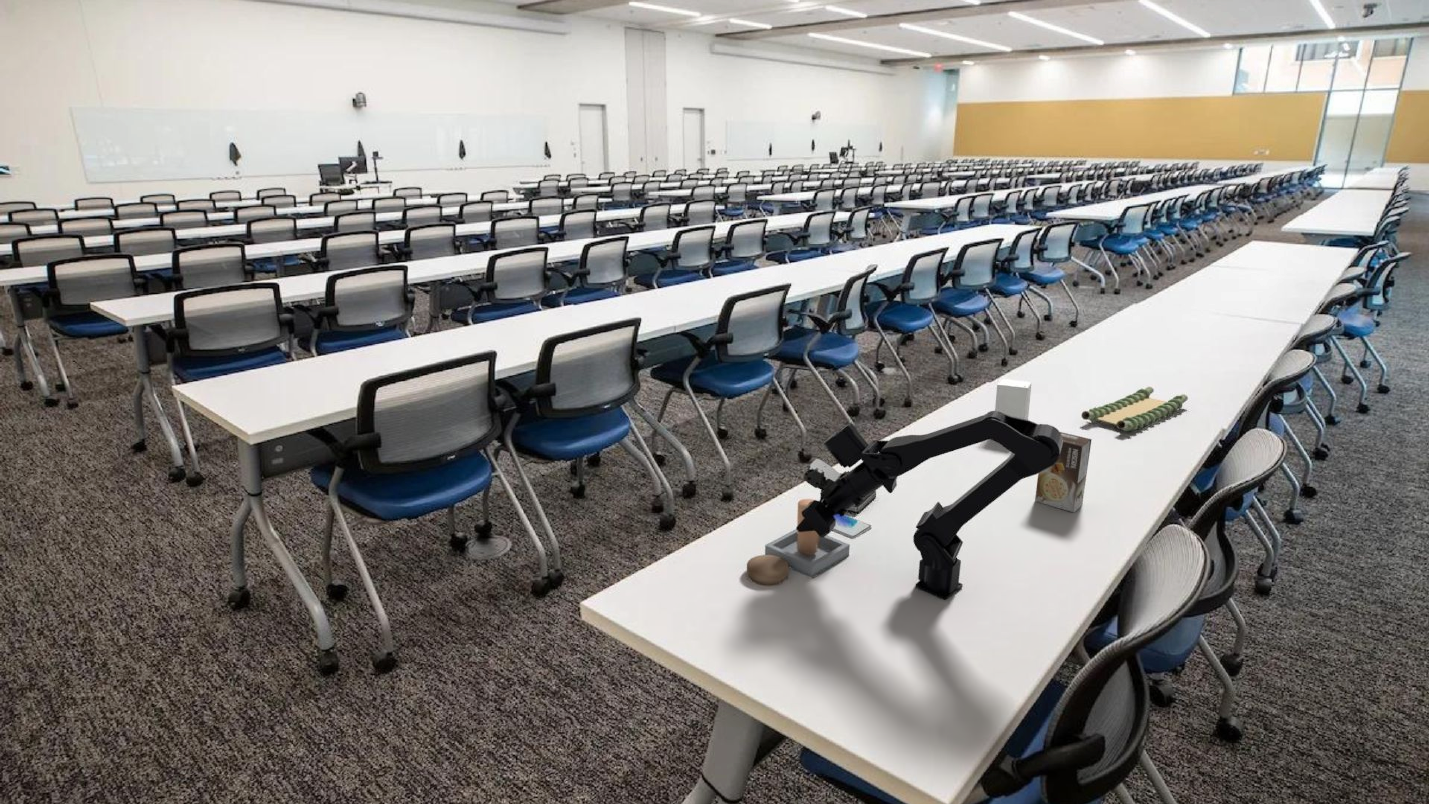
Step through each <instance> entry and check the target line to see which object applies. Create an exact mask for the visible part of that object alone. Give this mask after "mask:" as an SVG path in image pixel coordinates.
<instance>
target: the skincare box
mask: <svg viewBox="0 0 1429 804" xmlns="http://www.w3.org/2000/svg"><path fill="white" fill-rule="evenodd" d="M1031 395H1032V382H1031V381H1022V380H1014V379H1007V378H1002V379H1001V380H1000V381H999V382H998V383H997V384H996V395H995V405H994V411H999V412H1002V413H1004V414H1006V415H1009V416H1013V417H1017V418H1021V419H1026V420H1029V416H1030V415H1029V414H1030V413H1029V412H1030V403H1031Z"/></svg>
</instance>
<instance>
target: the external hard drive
mask: <svg viewBox="0 0 1429 804" xmlns="http://www.w3.org/2000/svg"><path fill="white" fill-rule="evenodd" d="M876 497H877V490H876V491H874V492H873V493H871V494H870V495H869V496H867V497H866V498H864V499H863V501H862V502H861V503H860V504H859V505H857V506H856V505H855V506H853V507H852V508H850V509H849V510H847V512H846V513H849V512H850V513H849V514H853V513H854V514H853V515H858V514H859V513H861V512H862V511H863V510H864V509H865V508H866V507H867V506H868V505H870V503H872V502H873V501H874V500H875V499H876Z"/></svg>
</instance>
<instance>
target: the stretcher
mask: <svg viewBox="0 0 1429 804" xmlns="http://www.w3.org/2000/svg"><path fill="white" fill-rule="evenodd" d="M1154 392H1155V391H1154V387H1152V386H1147V387H1146V388H1140V389H1138V390H1136V391H1135V392H1133V393H1132V394H1128V395H1126V396H1125V397H1124V398H1120V399H1118V400H1115V401H1113V402H1109V403H1106V404H1103V405H1102V406H1097V407H1093V408H1089V410H1084V411H1082V413H1081V418H1082V419H1083V420H1089V422H1094V423H1095V422H1097V421H1099V422H1102V423H1103V422H1104V423H1106V424H1111V425H1114V426H1116V428H1117V429H1118V430H1123V431H1124V432H1128V431H1135V430H1139V429H1142V428H1144V427H1147V426H1148V425H1152V424H1154V423H1155V422H1158V421H1161V419H1165V418H1166V417H1167V416H1170V415H1172V413H1175V412H1177V411H1178V410H1180V409H1182V408H1183V404H1184V403H1186V402H1187V401H1188V399H1189V398H1188V395H1186V394H1183V393H1182V394H1180V395H1175V396H1174V397H1173V398H1172V399H1169V400H1168V401H1164V400H1161V399H1157V398H1153V397H1150V395H1151V394H1153V393H1154Z"/></svg>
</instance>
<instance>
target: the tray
mask: <svg viewBox="0 0 1429 804" xmlns="http://www.w3.org/2000/svg"><path fill="white" fill-rule="evenodd" d="M764 546H765V547H764V548H765V549H764V555H773V556H778V557H780V558H782V559H784V560H785V561H786V562H787V563H788V568H790V569H792V570H794V571H796V572H799V573H800V574H803V575H805V576H806V577H809V578H811V579H813V578H815V577H817V576H818V575H820V574H821V573H823V572H824V571H826V570H828V569H830V568H832V567H834V565H836V564H838V563H839V562H841V561H842V560H844V559H847V558H848V557H850V546H851V544H849V543H846V542H844V541H842V540H840V539H837V538H834V537H832V536H830V535H829V534H827V535H826V536H825V537H823V538H822V537H820V536H819V550H818V552H816V553H814V554H803V553H800V552H799V551H797V529H796V528H795V529H794V530H791V531H789V532H787V533H785V534H784V535H781V536H780V537H778V538H776V539H774V540H772V541H770V542H768V543H766V544H765V545H764Z"/></svg>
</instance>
